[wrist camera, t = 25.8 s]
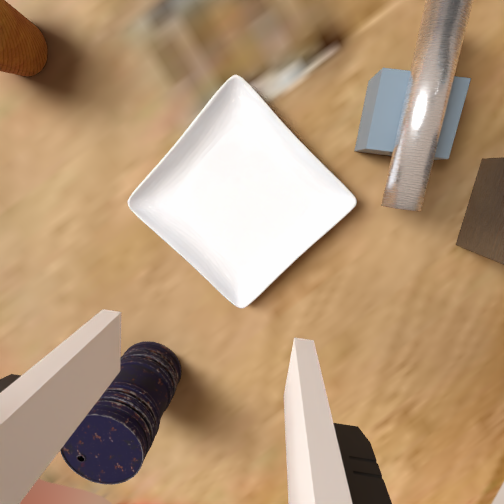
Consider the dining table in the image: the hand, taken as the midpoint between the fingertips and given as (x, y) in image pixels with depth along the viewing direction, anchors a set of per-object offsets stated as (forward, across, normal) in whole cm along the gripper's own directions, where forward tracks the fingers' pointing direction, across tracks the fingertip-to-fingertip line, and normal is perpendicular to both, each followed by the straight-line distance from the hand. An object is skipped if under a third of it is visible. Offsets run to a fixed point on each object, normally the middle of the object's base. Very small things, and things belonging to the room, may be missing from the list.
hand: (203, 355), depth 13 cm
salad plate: (+32, -2, +3) cm, 32 cm away
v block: (+31, +16, +15) cm, 38 cm away
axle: (+25, +16, +15) cm, 33 cm away
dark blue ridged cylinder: (+31, -13, -25) cm, 42 cm away
